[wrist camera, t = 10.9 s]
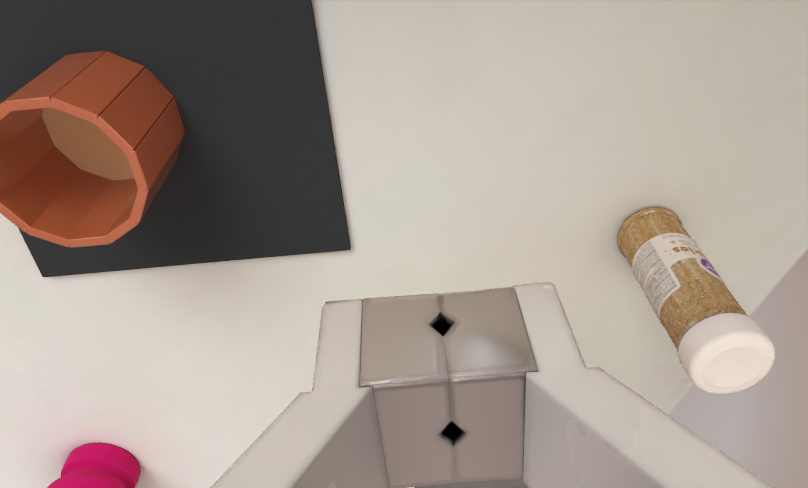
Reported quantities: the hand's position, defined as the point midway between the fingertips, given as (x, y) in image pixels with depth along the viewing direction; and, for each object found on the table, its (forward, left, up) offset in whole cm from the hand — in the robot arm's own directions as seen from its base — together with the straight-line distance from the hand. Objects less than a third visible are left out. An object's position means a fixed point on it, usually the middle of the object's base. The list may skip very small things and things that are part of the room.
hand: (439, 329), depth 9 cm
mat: (+8, -16, -31) cm, 36 cm away
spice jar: (+20, +16, -31) cm, 40 cm away
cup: (+8, -14, -27) cm, 31 cm away
